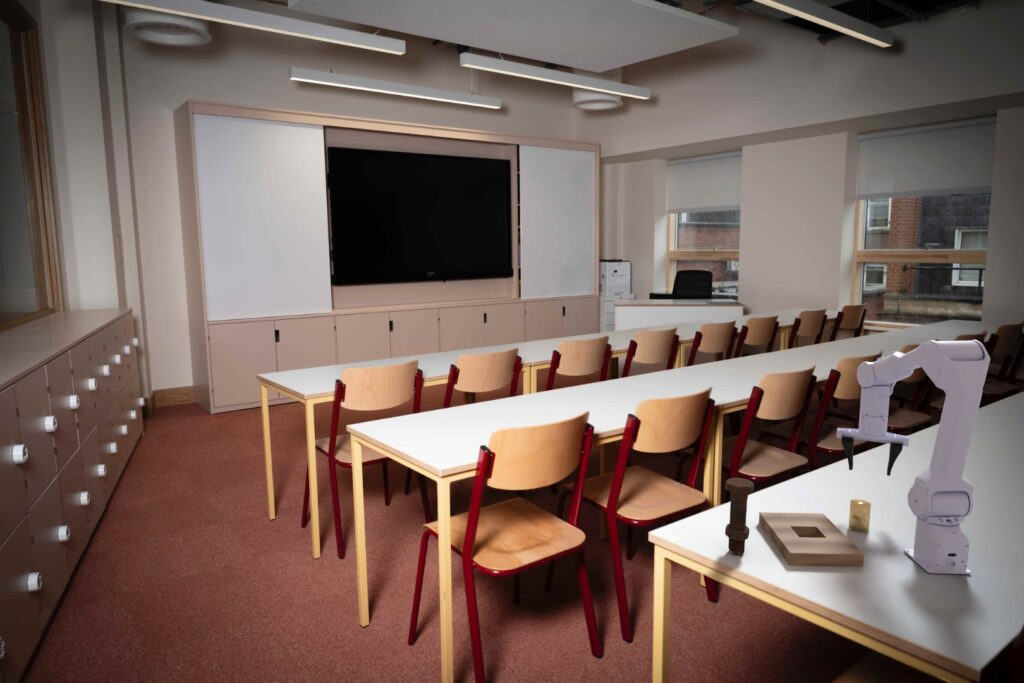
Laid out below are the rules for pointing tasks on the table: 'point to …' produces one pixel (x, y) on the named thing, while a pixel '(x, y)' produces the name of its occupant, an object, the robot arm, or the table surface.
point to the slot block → (810, 539)
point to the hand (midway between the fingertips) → (869, 471)
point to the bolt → (738, 513)
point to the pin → (859, 515)
